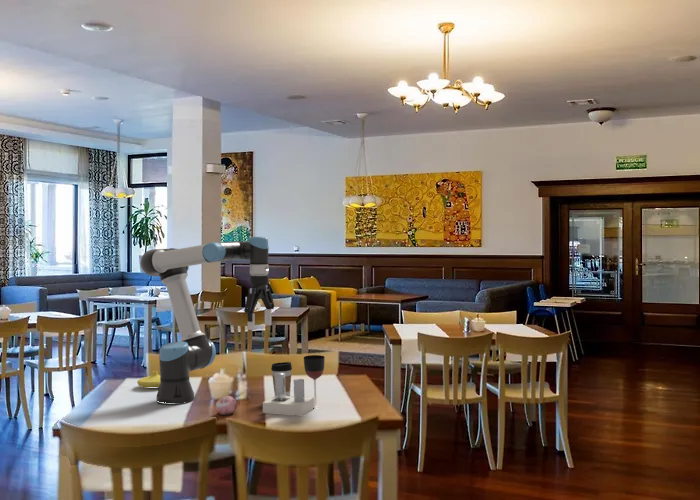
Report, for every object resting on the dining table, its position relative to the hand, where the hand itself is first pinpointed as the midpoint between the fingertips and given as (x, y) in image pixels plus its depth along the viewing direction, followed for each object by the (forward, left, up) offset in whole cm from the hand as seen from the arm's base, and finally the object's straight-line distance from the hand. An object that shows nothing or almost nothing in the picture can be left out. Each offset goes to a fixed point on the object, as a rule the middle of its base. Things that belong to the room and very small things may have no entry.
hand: (259, 327), depth 284 cm
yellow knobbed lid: (-60, +11, -30) cm, 69 cm away
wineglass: (+25, -3, -31) cm, 40 cm away
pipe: (+14, -10, -30) cm, 35 cm away
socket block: (+17, -10, -30) cm, 36 cm away
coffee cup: (+7, +5, -30) cm, 31 cm away
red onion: (-4, -21, -30) cm, 37 cm away
